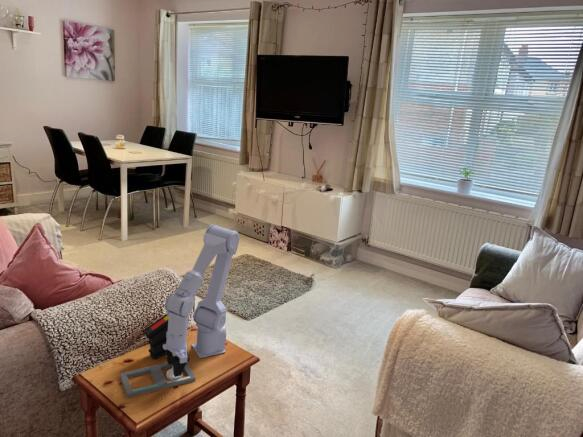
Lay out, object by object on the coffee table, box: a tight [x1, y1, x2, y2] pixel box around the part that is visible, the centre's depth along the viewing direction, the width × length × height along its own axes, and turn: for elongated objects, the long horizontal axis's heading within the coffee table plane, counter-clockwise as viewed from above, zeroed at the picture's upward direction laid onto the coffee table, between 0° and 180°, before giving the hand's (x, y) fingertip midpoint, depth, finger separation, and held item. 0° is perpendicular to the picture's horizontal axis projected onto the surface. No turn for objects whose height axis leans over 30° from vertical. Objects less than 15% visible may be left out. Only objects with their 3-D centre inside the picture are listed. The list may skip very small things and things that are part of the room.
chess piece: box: [165, 353, 183, 381], centre depth 133 cm, size 5×5×10 cm
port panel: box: [119, 362, 196, 398], centre depth 132 cm, size 20×10×1 cm, turn 122°
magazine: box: [143, 313, 169, 361], centre depth 142 cm, size 4×13×15 cm, turn 133°
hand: (174, 369), depth 134 cm, fingers open, 6 cm apart
